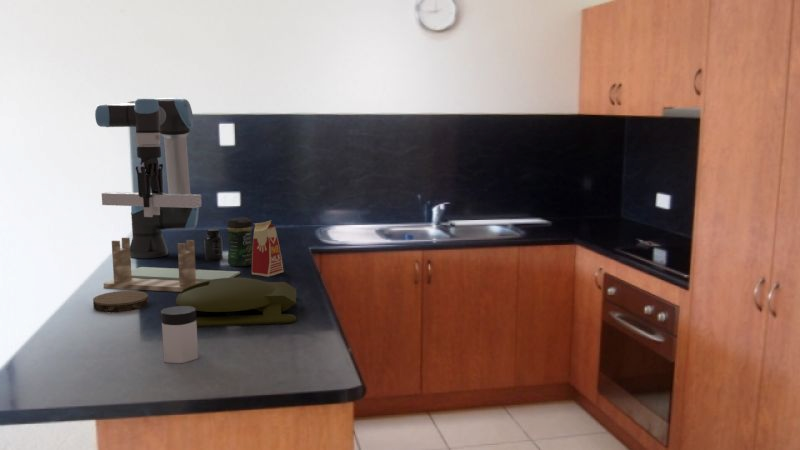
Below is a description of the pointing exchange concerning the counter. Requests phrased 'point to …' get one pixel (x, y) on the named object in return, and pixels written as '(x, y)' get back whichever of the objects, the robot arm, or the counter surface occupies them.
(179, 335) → the jar
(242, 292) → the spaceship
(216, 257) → the supplement bottle
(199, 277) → the sage mat
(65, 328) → the counter surface
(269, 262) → the milk carton
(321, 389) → the counter surface
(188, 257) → the rail rack
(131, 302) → the wooden log slice
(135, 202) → the steel rail
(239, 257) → the coffee jar
